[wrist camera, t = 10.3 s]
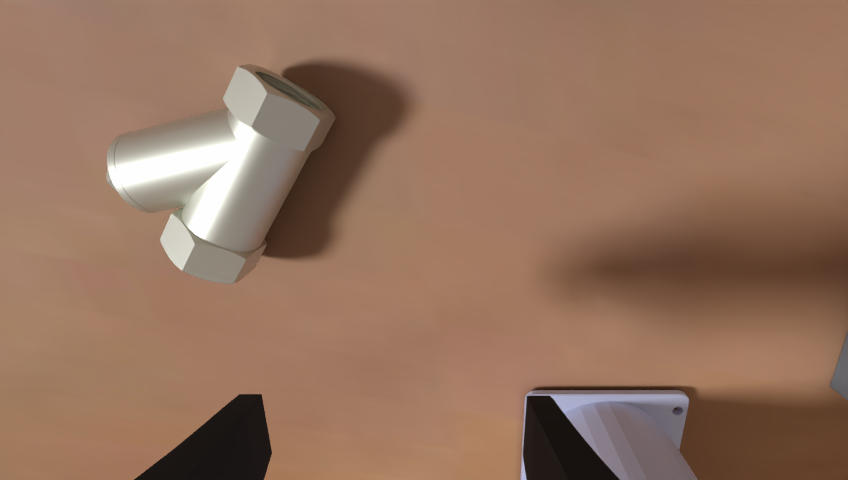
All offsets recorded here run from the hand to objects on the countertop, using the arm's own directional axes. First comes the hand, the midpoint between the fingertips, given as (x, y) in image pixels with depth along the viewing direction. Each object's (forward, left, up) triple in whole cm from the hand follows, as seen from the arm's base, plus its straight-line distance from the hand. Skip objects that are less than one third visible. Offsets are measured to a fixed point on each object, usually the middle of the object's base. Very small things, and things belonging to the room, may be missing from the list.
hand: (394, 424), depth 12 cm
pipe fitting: (+6, +8, -10) cm, 14 cm away
